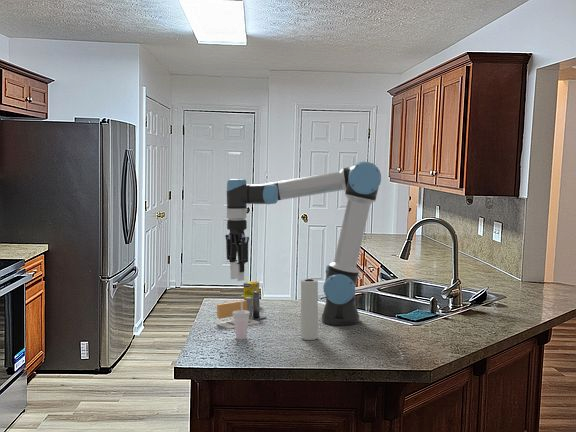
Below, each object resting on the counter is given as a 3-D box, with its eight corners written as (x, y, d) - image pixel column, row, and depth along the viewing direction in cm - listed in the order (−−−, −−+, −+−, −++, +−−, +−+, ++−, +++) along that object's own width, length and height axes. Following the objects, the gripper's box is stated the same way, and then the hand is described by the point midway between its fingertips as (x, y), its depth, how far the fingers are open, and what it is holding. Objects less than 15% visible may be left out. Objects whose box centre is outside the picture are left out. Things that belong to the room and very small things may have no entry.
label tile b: (241, 326, 256) (241, 324, 256) (228, 329, 253) (228, 327, 253) (229, 322, 263) (229, 320, 263) (216, 324, 260) (216, 322, 260)
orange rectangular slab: (249, 316, 270) (249, 296, 269) (252, 317, 268) (252, 297, 267) (216, 321, 261) (216, 301, 260) (219, 322, 259) (219, 302, 258)
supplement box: (256, 308, 290) (256, 283, 289) (243, 307, 291) (243, 283, 290) (259, 305, 295) (259, 281, 294) (246, 305, 297) (246, 281, 296)
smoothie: (252, 336, 241) (252, 299, 240) (246, 341, 235) (245, 302, 234) (236, 335, 243) (236, 297, 242) (229, 339, 237) (229, 301, 236)
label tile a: (259, 323, 261) (259, 321, 261) (247, 325, 258) (247, 323, 258) (247, 319, 268) (247, 317, 268) (234, 321, 265) (234, 319, 265)
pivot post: (266, 318, 270) (266, 292, 269) (254, 320, 266) (254, 293, 265) (258, 315, 275) (257, 289, 274) (246, 317, 271) (245, 291, 270)
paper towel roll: (312, 341, 234) (312, 282, 233) (297, 339, 237) (297, 280, 236) (322, 337, 240) (322, 279, 239) (307, 334, 244) (307, 277, 242)
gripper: (257, 220, 248) (257, 281, 250) (233, 217, 262) (233, 275, 263) (240, 221, 244) (241, 283, 245) (216, 218, 257) (217, 277, 259)
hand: (237, 279), depth 254 cm, fingers open, 4 cm apart
